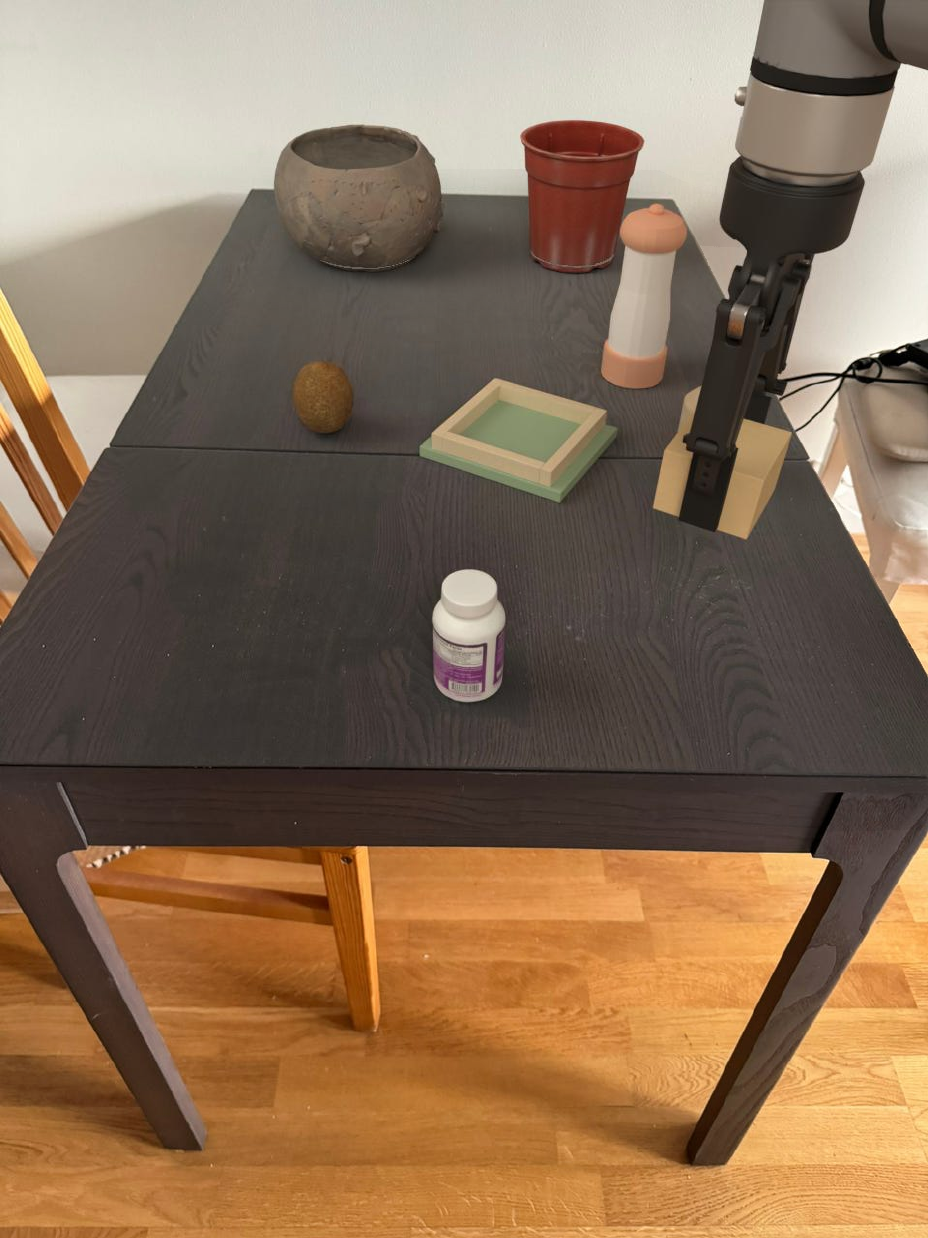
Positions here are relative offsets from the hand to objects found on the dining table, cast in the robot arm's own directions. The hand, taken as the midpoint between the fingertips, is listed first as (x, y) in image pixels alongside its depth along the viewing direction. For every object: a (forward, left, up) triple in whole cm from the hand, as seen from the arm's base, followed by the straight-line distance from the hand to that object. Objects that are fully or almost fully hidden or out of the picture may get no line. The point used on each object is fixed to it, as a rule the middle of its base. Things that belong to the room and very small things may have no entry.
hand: (715, 495), depth 68 cm
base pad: (+24, -18, -13) cm, 33 cm away
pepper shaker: (+20, -39, -13) cm, 46 cm away
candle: (+6, -22, -13) cm, 26 cm away
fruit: (+43, -10, -13) cm, 46 cm away
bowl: (+68, -52, -13) cm, 86 cm away
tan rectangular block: (0, 0, 0) cm, 0 cm away
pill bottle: (+12, +14, -13) cm, 23 cm away
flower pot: (+41, -67, -13) cm, 80 cm away
